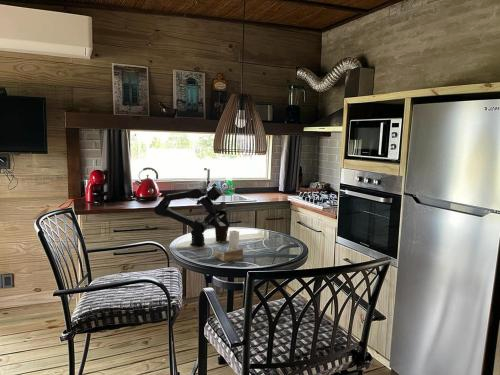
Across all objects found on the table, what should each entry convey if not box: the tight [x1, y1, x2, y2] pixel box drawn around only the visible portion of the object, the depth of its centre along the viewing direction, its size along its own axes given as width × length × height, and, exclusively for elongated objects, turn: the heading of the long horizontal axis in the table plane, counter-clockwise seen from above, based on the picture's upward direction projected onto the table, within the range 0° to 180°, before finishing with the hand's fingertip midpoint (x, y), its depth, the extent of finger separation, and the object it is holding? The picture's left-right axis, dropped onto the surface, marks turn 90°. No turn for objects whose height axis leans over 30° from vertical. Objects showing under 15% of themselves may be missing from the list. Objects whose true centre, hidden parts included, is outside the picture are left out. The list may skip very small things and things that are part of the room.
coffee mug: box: [214, 222, 229, 242], centre depth 233 cm, size 12×9×10 cm
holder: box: [213, 247, 244, 263], centre depth 202 cm, size 10×11×5 cm
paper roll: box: [228, 230, 240, 250], centre depth 214 cm, size 5×5×11 cm
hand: (225, 227), depth 215 cm, fingers open, 9 cm apart
